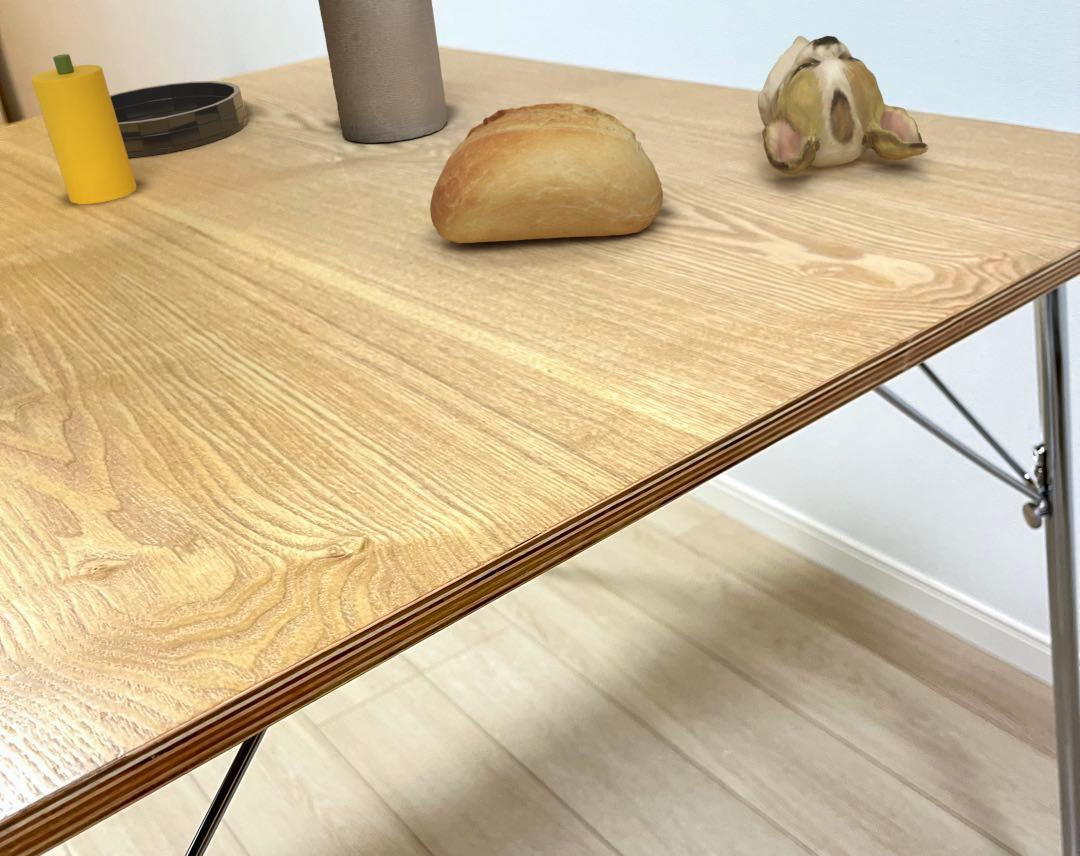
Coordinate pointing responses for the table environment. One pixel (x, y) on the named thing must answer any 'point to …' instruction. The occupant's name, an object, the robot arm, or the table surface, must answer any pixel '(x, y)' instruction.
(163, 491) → the table surface
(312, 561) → the table surface
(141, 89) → the pan
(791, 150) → the ceramic sculpture
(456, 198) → the bread roll
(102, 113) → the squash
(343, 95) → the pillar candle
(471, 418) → the table surface
